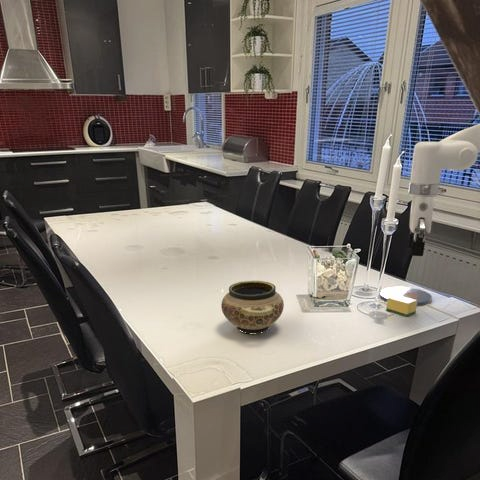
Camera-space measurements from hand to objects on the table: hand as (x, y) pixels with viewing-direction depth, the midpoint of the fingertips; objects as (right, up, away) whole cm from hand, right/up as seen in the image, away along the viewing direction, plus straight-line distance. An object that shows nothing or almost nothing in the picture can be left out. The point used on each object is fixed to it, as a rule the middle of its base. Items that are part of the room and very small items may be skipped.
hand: (415, 251), depth 133 cm
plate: (+7, -12, +28) cm, 31 cm away
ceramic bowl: (-46, -22, +4) cm, 52 cm away
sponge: (+1, -17, +15) cm, 23 cm away
